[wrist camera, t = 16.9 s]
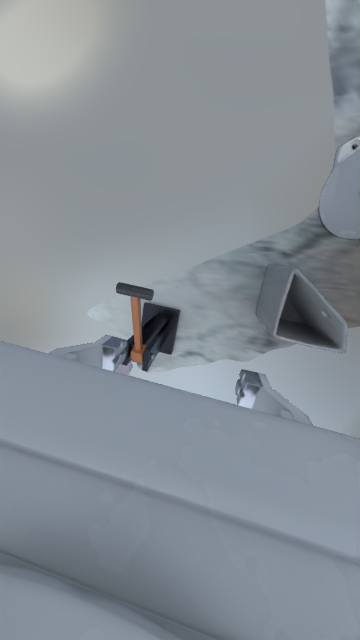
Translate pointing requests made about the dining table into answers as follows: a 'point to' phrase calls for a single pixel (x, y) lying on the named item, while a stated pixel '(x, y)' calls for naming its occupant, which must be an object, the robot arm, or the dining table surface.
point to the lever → (136, 316)
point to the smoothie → (124, 368)
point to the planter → (299, 311)
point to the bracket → (155, 333)
